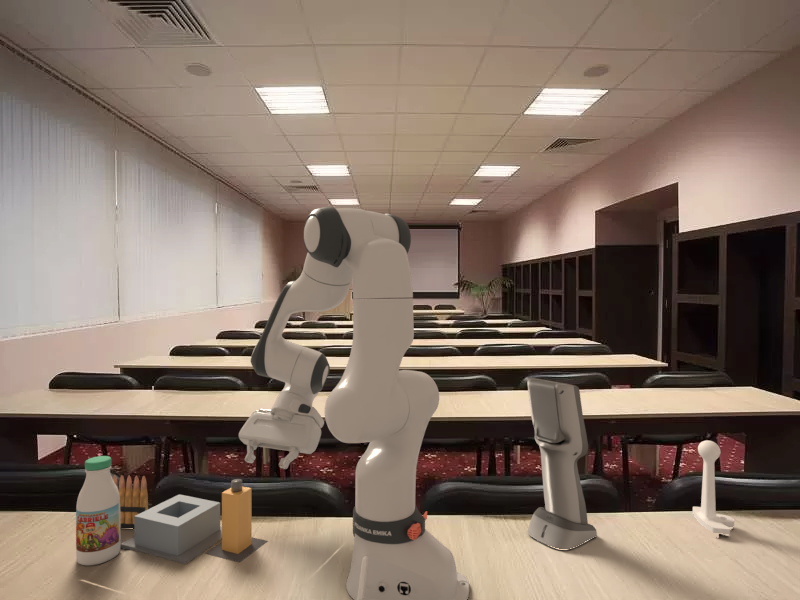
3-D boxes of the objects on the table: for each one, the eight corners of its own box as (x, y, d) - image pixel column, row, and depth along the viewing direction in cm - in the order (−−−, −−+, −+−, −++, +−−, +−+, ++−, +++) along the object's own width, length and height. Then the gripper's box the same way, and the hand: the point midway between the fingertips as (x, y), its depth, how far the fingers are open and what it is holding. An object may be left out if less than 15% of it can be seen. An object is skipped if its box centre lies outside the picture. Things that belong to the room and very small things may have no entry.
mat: (267, 542, 106) (267, 540, 106) (239, 563, 98) (239, 562, 98) (234, 534, 109) (234, 533, 109) (204, 554, 101) (204, 553, 101)
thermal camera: (519, 532, 111) (520, 377, 110) (554, 517, 118) (556, 372, 118) (563, 555, 101) (565, 386, 100) (599, 537, 109) (601, 379, 108)
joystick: (687, 515, 120) (688, 433, 119) (721, 517, 118) (722, 435, 118) (708, 537, 109) (709, 447, 108) (746, 540, 107) (747, 449, 107)
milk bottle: (79, 551, 102) (79, 455, 102) (122, 543, 105) (121, 450, 105) (73, 570, 95) (72, 467, 95) (118, 561, 98) (118, 462, 98)
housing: (234, 533, 110) (234, 503, 110) (185, 565, 97) (185, 531, 97) (173, 519, 117) (172, 490, 116) (120, 547, 104) (119, 515, 103)
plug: (251, 544, 105) (251, 478, 104) (238, 553, 101) (238, 486, 100) (235, 540, 106) (235, 476, 106) (221, 549, 102) (221, 483, 102)
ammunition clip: (150, 526, 113) (150, 474, 113) (145, 530, 111) (145, 477, 111) (105, 524, 114) (105, 473, 114) (100, 528, 112) (100, 476, 112)
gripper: (249, 401, 123) (222, 452, 114) (320, 409, 115) (297, 464, 106) (261, 414, 127) (235, 464, 118) (330, 423, 119) (308, 477, 110)
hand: (265, 464), depth 112 cm, fingers open, 8 cm apart
